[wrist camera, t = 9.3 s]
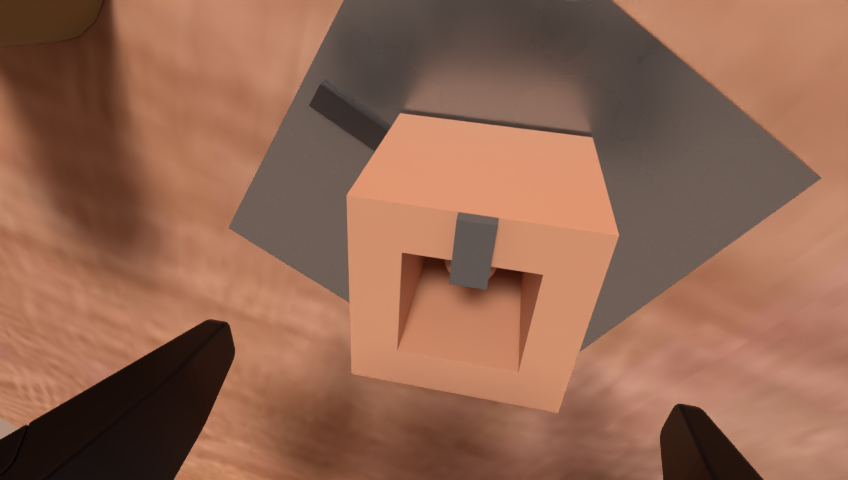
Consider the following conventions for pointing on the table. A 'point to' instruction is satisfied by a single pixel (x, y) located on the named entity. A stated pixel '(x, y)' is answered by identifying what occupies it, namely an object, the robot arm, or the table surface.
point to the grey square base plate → (527, 109)
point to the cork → (45, 20)
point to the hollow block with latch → (477, 258)
